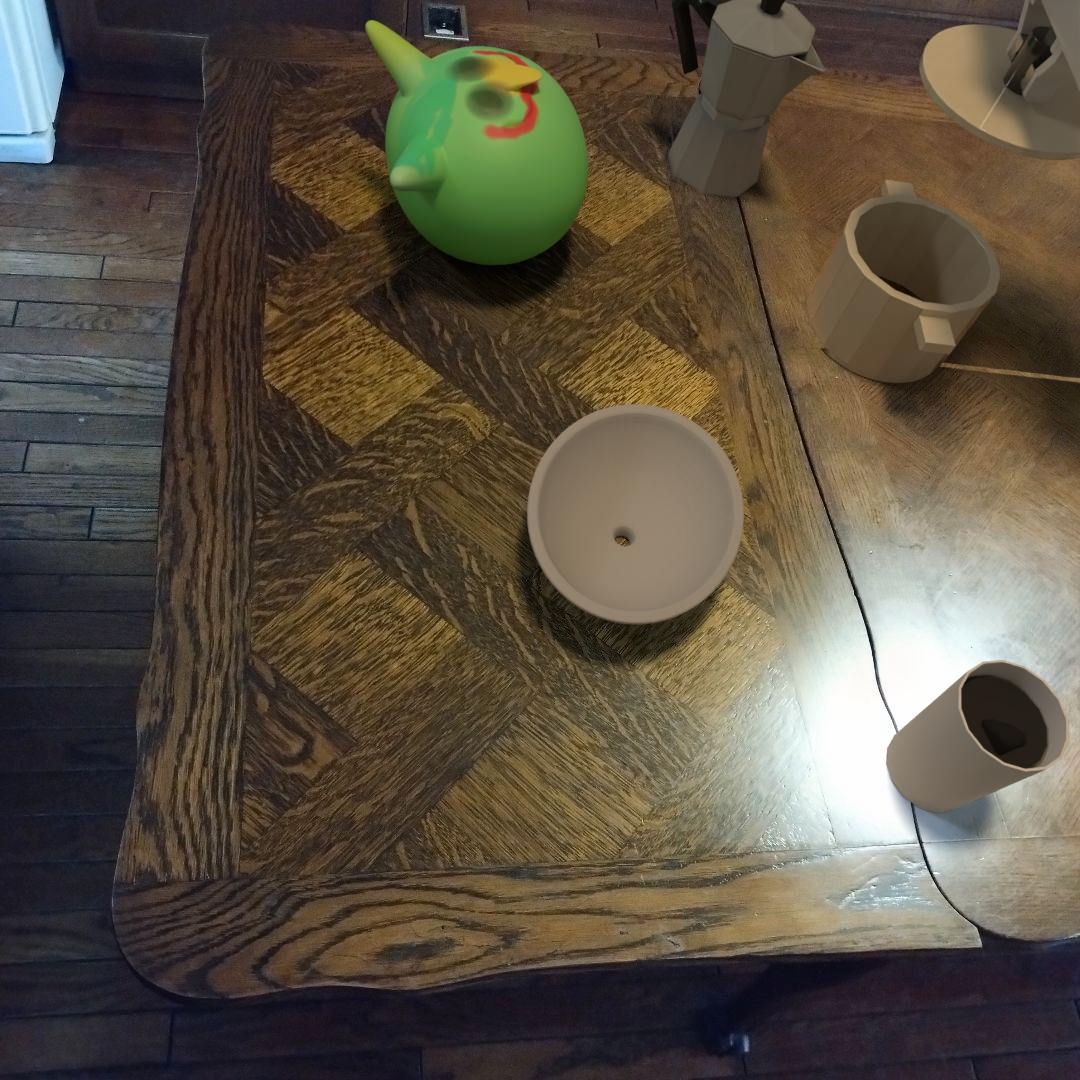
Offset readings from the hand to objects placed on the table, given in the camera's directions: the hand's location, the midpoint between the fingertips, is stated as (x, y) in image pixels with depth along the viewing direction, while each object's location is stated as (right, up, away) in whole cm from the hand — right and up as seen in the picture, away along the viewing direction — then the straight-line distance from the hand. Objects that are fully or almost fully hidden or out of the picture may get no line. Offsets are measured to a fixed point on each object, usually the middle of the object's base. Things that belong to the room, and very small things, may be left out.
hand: (1024, 78), depth 66 cm
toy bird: (-38, -5, +17) cm, 42 cm away
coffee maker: (-17, +4, +26) cm, 31 cm away
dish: (-27, -31, +3) cm, 41 cm away
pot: (-4, -13, +18) cm, 23 cm away
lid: (0, -1, +1) cm, 1 cm away
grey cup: (-7, -46, -2) cm, 47 cm away
